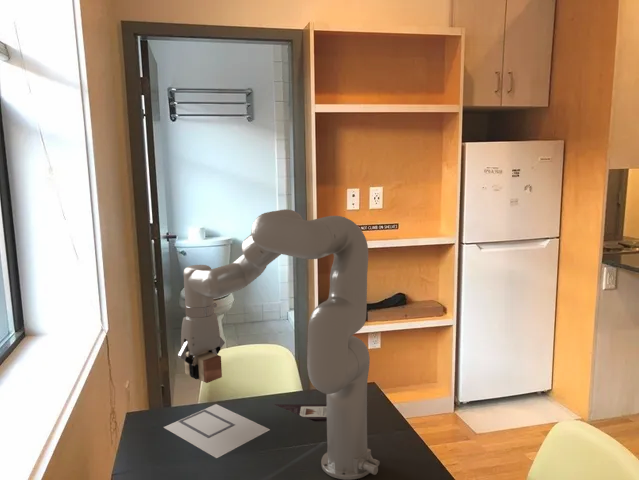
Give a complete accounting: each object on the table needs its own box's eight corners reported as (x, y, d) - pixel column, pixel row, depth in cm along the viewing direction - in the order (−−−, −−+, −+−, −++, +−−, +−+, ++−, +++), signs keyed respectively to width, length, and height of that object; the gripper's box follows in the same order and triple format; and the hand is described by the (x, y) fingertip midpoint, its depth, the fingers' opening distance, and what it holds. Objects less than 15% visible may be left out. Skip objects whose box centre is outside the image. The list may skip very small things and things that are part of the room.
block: (185, 373, 145) (184, 353, 145) (200, 368, 149) (199, 348, 148) (206, 383, 139) (205, 361, 138) (221, 377, 142) (220, 356, 142)
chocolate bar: (271, 404, 157) (331, 404, 156) (271, 407, 157) (331, 407, 156) (267, 419, 148) (330, 419, 147) (267, 422, 148) (330, 422, 147)
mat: (270, 431, 142) (270, 429, 142) (216, 460, 129) (216, 457, 128) (216, 405, 158) (216, 403, 158) (163, 429, 144) (163, 426, 144)
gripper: (216, 301, 150) (219, 362, 153) (164, 315, 137) (168, 380, 140) (233, 306, 145) (236, 368, 148) (180, 320, 132) (184, 388, 135)
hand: (203, 373), depth 144 cm, fingers closed on block, 5 cm apart
